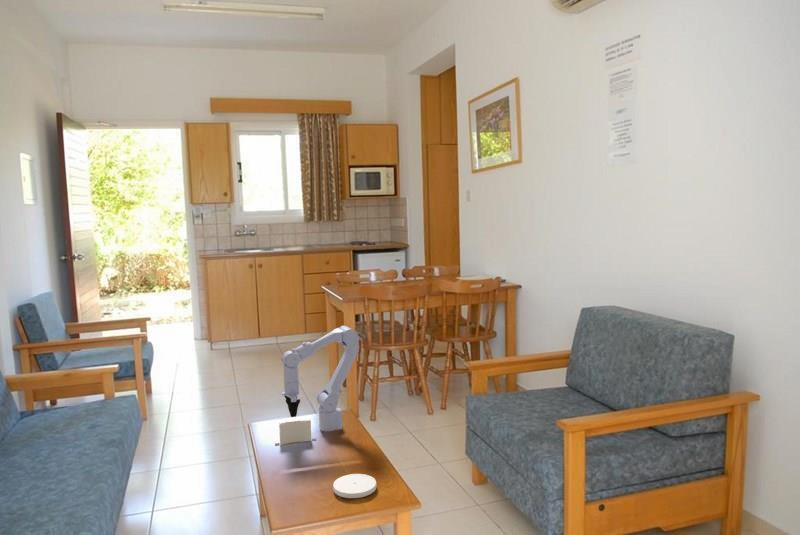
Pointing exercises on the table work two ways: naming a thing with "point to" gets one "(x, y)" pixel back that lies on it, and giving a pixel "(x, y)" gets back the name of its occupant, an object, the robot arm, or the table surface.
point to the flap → (295, 431)
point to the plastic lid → (354, 485)
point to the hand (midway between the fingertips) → (292, 414)
